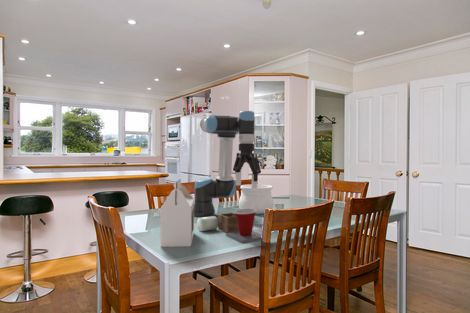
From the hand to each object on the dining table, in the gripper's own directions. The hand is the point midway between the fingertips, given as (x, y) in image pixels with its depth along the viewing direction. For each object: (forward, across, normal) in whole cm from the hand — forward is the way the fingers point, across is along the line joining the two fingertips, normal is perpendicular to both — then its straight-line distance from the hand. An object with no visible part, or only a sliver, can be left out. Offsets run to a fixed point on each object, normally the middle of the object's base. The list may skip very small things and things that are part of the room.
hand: (246, 186), depth 152 cm
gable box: (+25, -13, -30) cm, 41 cm away
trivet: (+25, 0, 0) cm, 25 cm away
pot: (+25, -49, +43) cm, 70 cm away
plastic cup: (+24, 0, 0) cm, 24 cm away
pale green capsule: (+25, -21, -10) cm, 34 cm away
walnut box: (+25, -15, 0) cm, 29 cm away
